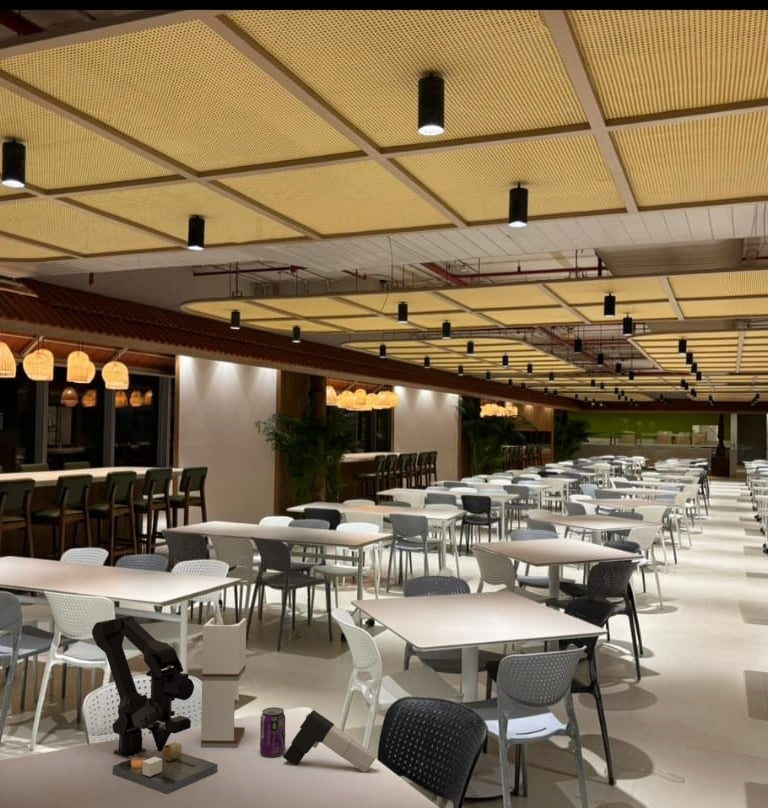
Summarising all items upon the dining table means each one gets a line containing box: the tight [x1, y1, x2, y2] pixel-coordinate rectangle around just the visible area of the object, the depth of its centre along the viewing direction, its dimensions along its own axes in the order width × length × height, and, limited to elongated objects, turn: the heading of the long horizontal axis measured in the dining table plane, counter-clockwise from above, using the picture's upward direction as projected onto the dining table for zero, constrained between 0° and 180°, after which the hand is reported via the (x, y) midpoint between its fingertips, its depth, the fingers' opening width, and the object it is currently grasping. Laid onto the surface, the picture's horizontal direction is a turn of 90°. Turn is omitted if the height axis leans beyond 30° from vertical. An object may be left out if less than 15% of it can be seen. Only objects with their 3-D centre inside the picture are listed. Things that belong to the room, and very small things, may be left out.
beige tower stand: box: [200, 617, 247, 749], centre depth 238 cm, size 11×11×35 cm
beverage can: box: [259, 706, 286, 757], centre depth 227 cm, size 7×7×12 cm
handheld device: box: [282, 709, 377, 773], centre depth 217 cm, size 4×22×15 cm, turn 76°
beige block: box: [142, 757, 162, 777], centre depth 207 cm, size 3×4×3 cm
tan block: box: [163, 742, 183, 761], centre depth 217 cm, size 3×4×3 cm
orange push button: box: [131, 756, 147, 770], centre depth 213 cm, size 4×4×3 cm
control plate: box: [112, 749, 218, 794], centre depth 213 cm, size 22×17×2 cm
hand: (160, 751), depth 220 cm, fingers closed
